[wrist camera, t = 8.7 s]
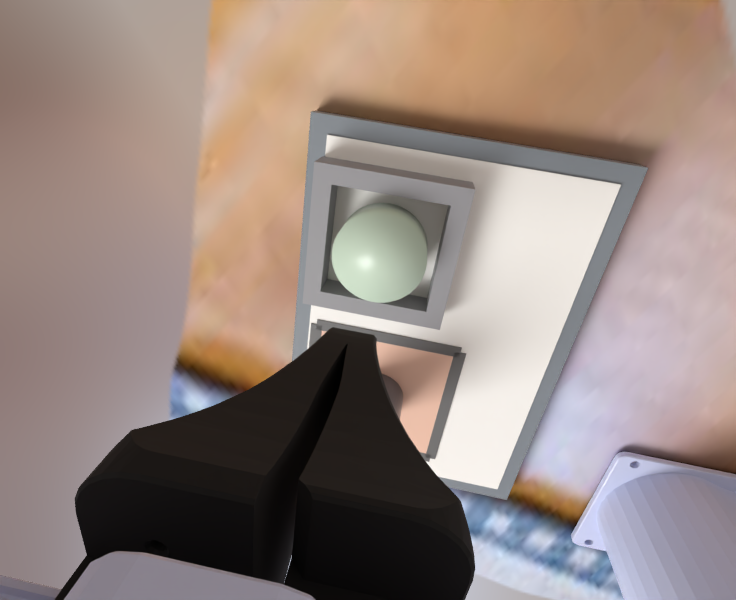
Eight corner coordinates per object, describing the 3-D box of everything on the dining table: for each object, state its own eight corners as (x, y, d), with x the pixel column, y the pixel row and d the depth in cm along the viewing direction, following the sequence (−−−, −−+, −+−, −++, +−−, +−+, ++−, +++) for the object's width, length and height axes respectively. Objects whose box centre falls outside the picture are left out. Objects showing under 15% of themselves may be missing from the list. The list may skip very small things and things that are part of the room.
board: (639, 164, 18) (667, 175, 16) (504, 487, 28) (510, 523, 25) (316, 110, 19) (300, 113, 17) (289, 441, 28) (277, 471, 26)
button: (436, 211, 19) (436, 222, 17) (418, 294, 20) (416, 310, 19) (344, 195, 19) (336, 204, 17) (334, 278, 21) (327, 293, 19)
